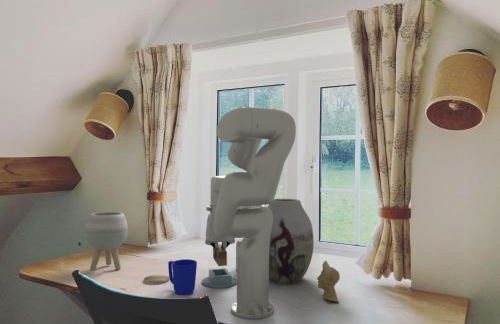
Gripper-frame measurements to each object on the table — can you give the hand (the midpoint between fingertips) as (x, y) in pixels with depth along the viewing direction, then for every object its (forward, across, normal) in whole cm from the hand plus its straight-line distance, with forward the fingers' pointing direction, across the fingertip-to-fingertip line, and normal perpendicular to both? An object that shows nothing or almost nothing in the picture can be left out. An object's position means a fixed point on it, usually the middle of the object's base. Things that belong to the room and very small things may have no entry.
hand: (219, 259), depth 137 cm
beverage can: (+8, +13, +14) cm, 21 cm away
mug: (+8, -15, -6) cm, 18 cm away
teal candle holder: (+8, 0, 0) cm, 8 cm away
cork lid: (+9, -22, +8) cm, 25 cm away
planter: (+9, -41, +29) cm, 51 cm away
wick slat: (-2, 0, +5) cm, 6 cm away
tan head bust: (+8, +30, -26) cm, 41 cm away
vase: (+8, +24, -3) cm, 26 cm away
